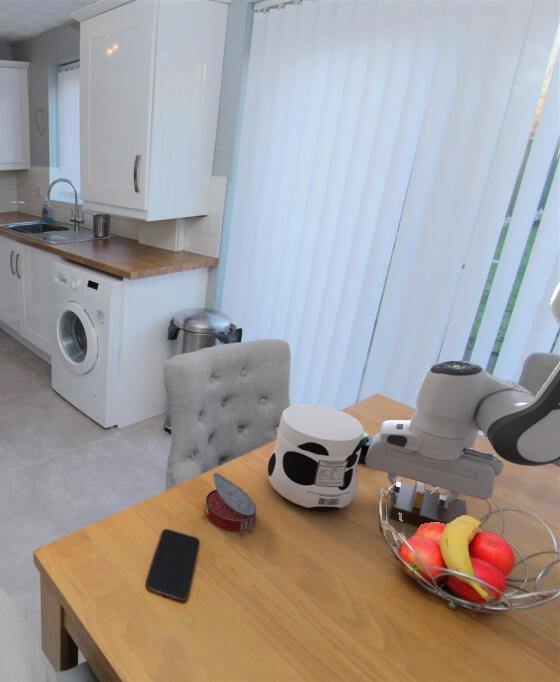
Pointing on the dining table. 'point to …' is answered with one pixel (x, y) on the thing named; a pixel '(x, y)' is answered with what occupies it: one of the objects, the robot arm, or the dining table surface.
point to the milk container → (316, 457)
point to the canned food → (229, 506)
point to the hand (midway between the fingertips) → (417, 497)
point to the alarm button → (365, 437)
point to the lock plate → (423, 507)
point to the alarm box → (364, 450)
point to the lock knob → (418, 494)
